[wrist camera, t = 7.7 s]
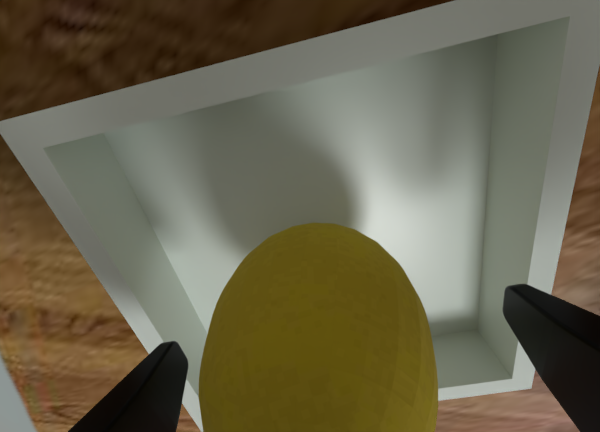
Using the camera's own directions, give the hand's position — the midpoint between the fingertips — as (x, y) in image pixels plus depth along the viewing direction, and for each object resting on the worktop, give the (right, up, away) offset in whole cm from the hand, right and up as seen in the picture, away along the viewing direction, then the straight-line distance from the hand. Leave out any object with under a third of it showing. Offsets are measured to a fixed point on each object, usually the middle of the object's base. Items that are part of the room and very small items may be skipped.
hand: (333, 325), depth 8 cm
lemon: (0, +2, +4) cm, 4 cm away
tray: (0, +2, +4) cm, 4 cm away
